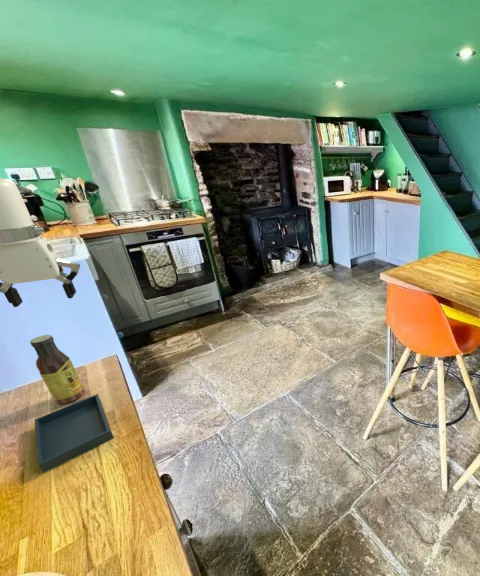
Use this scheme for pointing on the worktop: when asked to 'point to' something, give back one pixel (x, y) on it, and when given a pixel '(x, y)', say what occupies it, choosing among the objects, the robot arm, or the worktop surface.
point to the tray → (70, 432)
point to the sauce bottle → (57, 370)
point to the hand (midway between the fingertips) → (46, 300)
